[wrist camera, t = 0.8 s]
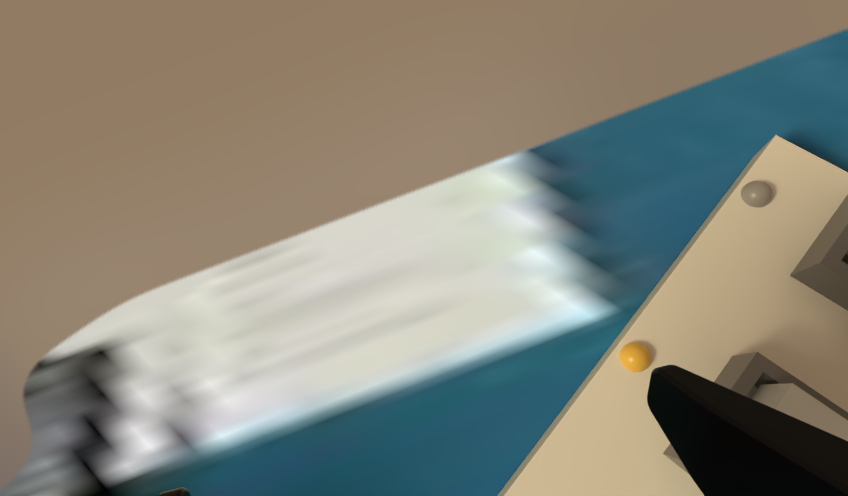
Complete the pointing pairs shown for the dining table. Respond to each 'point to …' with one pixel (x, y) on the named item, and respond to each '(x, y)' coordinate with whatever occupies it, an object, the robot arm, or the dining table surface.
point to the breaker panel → (715, 330)
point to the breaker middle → (802, 407)
